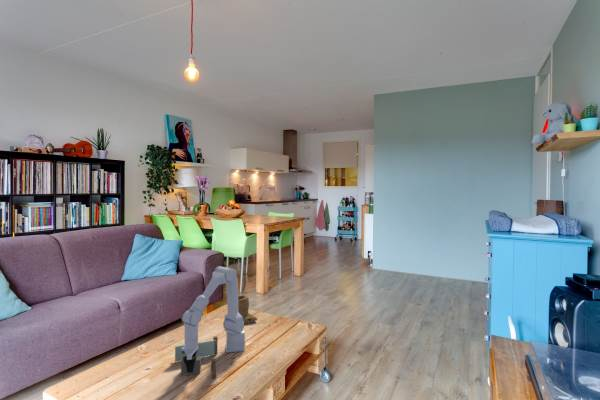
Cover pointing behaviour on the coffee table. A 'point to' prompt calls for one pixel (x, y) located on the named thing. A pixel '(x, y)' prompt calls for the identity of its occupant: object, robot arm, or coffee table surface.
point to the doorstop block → (195, 370)
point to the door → (203, 350)
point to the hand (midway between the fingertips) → (191, 367)
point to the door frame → (214, 362)
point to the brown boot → (245, 309)
